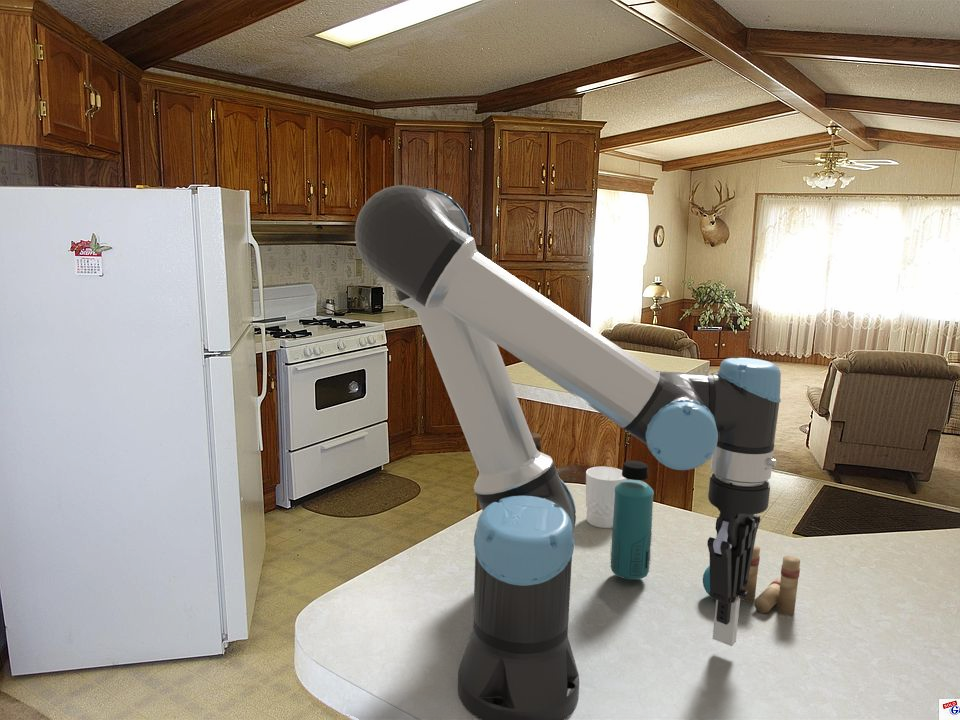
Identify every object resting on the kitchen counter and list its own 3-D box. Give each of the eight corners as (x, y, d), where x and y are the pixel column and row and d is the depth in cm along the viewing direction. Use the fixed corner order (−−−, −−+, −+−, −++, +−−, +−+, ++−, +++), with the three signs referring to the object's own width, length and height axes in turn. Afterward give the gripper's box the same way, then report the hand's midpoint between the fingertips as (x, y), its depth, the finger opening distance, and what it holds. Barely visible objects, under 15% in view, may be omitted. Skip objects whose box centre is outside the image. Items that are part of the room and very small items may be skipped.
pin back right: (785, 616, 111) (791, 564, 109) (773, 608, 113) (778, 556, 112) (798, 613, 112) (804, 561, 110) (786, 605, 114) (792, 554, 113)
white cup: (614, 533, 139) (617, 483, 137) (576, 523, 143) (579, 474, 141) (630, 519, 146) (633, 471, 144) (593, 510, 150) (596, 463, 148)
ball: (746, 610, 113) (738, 582, 110) (706, 610, 115) (698, 583, 113) (746, 580, 117) (739, 552, 115) (707, 581, 120) (699, 554, 117)
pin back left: (745, 602, 115) (750, 551, 113) (734, 594, 117) (739, 545, 115) (758, 600, 116) (764, 549, 114) (747, 592, 118) (752, 542, 116)
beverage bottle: (649, 590, 118) (658, 471, 114) (607, 585, 119) (614, 467, 115) (648, 572, 124) (657, 458, 120) (608, 567, 125) (615, 455, 121)
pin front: (768, 597, 111) (788, 577, 117) (751, 596, 113) (772, 577, 119) (772, 614, 111) (791, 593, 117) (755, 613, 112) (775, 592, 119)
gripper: (751, 497, 89) (733, 673, 93) (785, 471, 99) (767, 630, 103) (692, 482, 94) (678, 650, 98) (730, 458, 104) (716, 612, 108)
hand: (724, 640), depth 101 cm, fingers closed
